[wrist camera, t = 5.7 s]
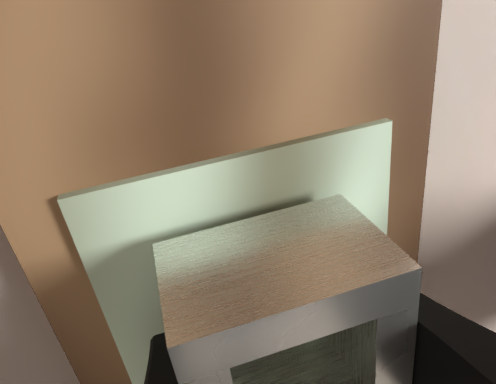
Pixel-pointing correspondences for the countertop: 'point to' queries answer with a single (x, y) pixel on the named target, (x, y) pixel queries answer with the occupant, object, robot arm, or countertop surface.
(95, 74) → the board
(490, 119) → the countertop surface
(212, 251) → the white square frame
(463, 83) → the countertop surface
